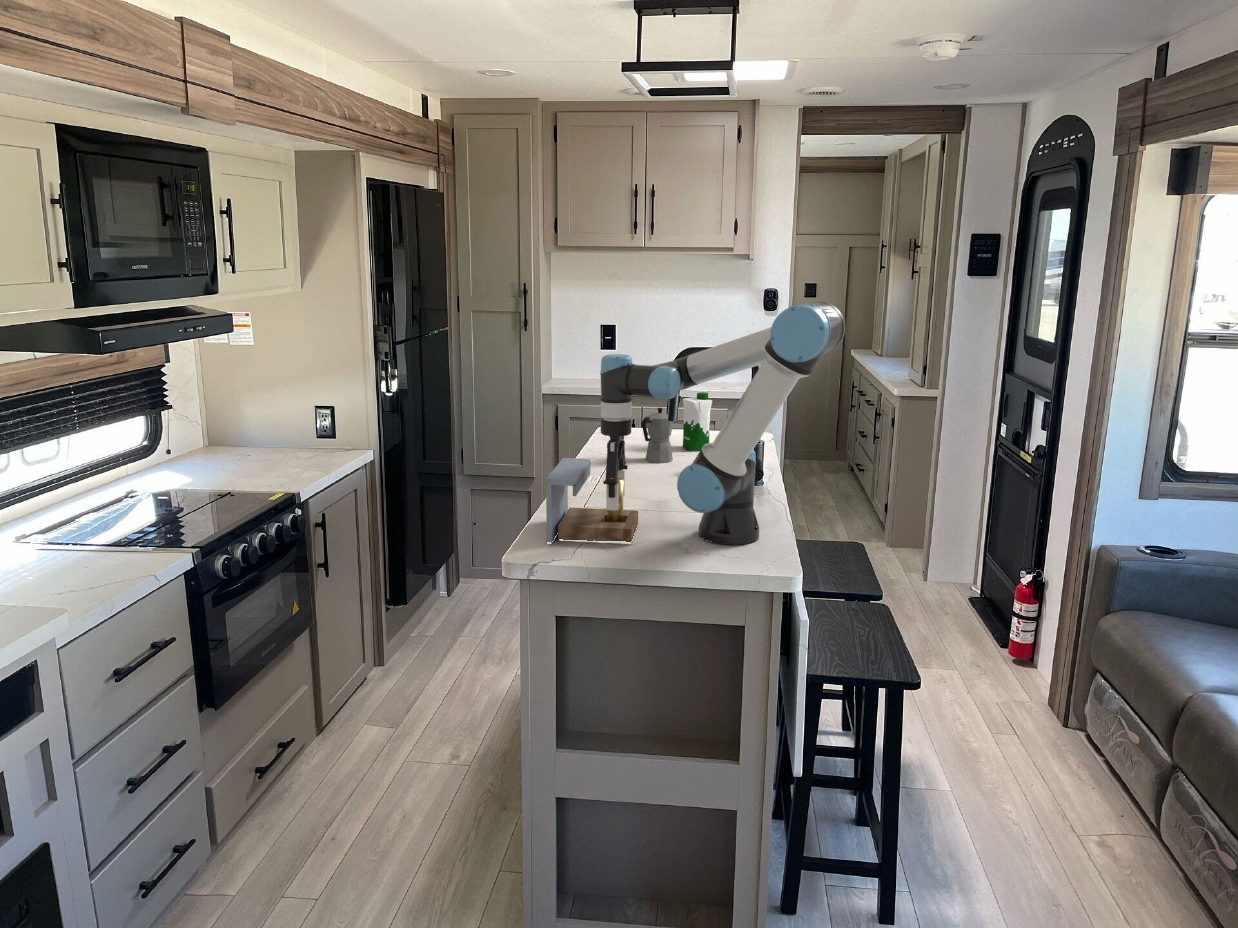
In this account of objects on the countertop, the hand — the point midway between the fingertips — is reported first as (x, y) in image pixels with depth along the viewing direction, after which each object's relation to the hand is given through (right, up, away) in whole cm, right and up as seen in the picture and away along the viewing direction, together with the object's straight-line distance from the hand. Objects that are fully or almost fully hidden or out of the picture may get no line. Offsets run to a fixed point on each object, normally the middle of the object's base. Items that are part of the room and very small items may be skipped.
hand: (615, 502), depth 228 cm
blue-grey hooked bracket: (-12, -8, +3) cm, 14 cm away
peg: (0, -8, +2) cm, 8 cm away
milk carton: (+28, +15, +98) cm, 104 cm away
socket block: (-4, -8, +3) cm, 9 cm away
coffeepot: (+14, +10, +80) cm, 82 cm away
